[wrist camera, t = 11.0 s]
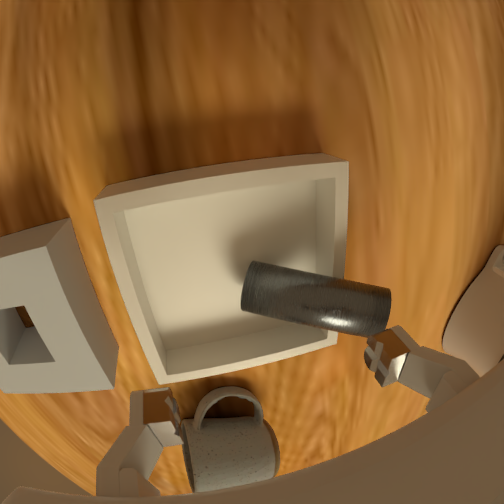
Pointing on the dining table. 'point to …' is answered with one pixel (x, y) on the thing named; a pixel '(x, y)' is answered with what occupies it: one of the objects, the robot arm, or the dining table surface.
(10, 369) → the grey square socket block
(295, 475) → the robot arm
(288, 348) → the tray
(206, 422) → the ceramic mug
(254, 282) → the pin
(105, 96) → the dining table surface
